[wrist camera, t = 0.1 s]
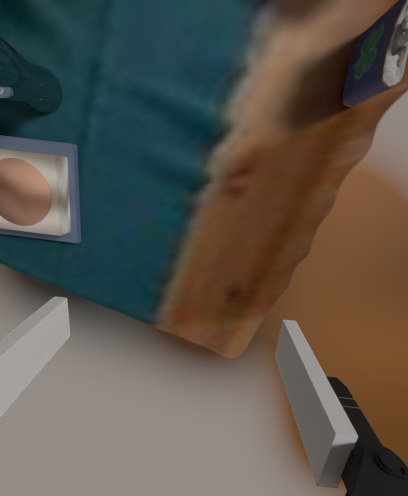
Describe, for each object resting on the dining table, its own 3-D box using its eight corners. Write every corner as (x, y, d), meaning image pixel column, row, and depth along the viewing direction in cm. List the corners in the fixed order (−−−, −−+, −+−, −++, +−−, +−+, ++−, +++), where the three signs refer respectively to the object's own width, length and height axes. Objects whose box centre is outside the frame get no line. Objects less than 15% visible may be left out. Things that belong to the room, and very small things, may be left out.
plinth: (-9, 148, 38) (-28, 145, 35) (67, 157, 38) (54, 155, 35) (2, 222, 42) (-15, 226, 39) (71, 231, 41) (59, 236, 38)
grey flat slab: (-10, 134, 39) (-17, 133, 37) (77, 144, 38) (72, 144, 37) (4, 231, 43) (-2, 233, 42) (81, 241, 43) (77, 243, 42)
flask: (355, 109, 35) (412, 82, 25) (335, 105, 35) (384, 77, 25) (379, 32, 32) (455, -34, 22) (358, 28, 32) (423, -39, 22)
